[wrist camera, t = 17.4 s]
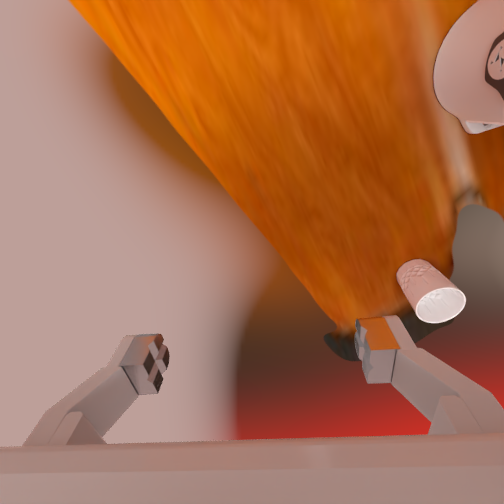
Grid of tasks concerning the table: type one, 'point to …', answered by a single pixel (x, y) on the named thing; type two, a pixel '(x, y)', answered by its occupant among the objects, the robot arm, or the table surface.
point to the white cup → (430, 292)
